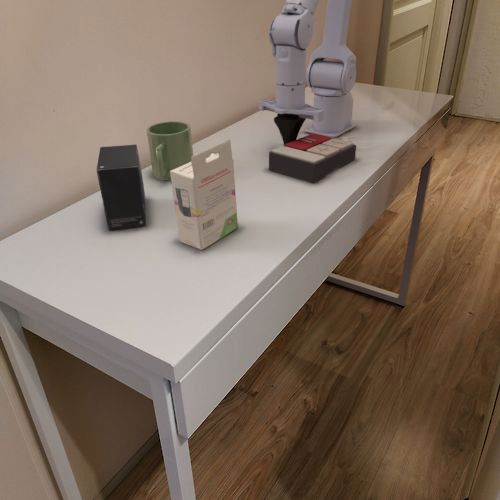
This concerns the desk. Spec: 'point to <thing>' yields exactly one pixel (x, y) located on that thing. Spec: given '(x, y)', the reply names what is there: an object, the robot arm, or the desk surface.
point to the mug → (169, 147)
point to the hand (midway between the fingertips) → (289, 149)
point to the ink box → (205, 196)
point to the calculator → (311, 157)
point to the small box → (121, 186)
